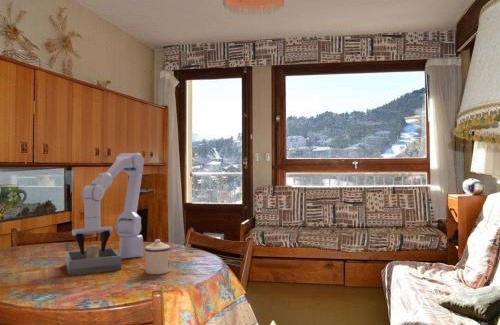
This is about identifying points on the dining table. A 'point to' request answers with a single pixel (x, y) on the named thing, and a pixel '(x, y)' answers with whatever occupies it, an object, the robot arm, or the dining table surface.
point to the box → (92, 262)
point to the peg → (92, 251)
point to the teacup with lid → (157, 258)
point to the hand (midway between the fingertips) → (92, 252)
